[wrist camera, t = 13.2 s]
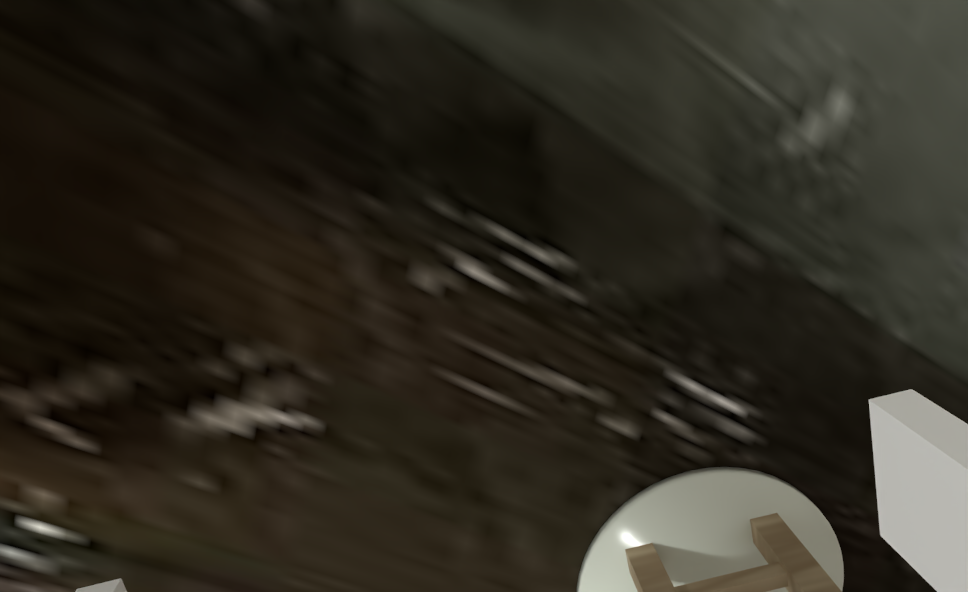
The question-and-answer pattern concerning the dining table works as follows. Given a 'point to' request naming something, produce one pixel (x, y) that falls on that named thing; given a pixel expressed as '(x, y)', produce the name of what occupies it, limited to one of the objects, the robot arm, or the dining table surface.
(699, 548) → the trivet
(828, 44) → the dining table surface
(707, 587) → the stool
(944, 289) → the dining table surface
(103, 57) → the dining table surface
